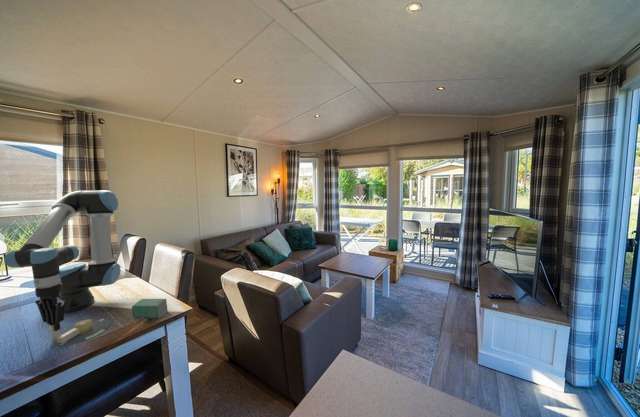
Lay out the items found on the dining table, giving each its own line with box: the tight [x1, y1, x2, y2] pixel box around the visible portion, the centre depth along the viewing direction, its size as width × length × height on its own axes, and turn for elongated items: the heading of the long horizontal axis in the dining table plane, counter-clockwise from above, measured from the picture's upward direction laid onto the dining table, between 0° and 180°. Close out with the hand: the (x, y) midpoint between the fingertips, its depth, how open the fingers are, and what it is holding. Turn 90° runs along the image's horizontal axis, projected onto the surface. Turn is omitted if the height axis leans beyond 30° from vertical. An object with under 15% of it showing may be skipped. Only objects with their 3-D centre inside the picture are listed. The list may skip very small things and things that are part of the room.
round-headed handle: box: [57, 318, 93, 343], centre depth 109 cm, size 13×6×4 cm, turn 176°
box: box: [131, 298, 168, 320], centre depth 128 cm, size 7×14×8 cm, turn 90°
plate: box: [51, 318, 113, 347], centre depth 113 cm, size 20×20×2 cm
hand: (55, 336), depth 106 cm, fingers closed
